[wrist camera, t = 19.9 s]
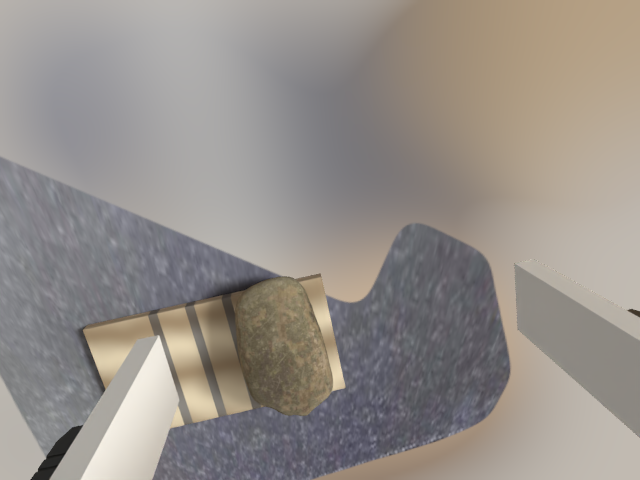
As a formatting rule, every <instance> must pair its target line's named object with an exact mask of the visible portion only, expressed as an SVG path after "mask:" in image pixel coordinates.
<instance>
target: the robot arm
mask: <svg viewBox="0 0 640 480" xmlns="http://www.w3.org/2000/svg"><path fill="white" fill-rule="evenodd" d="M514 266H515V285H516V305H517V324H518V325H517V326H518V330H519V331H520V332H521V333H522V334H523V335H525V336H526V337H527V338H528V339H529V340H530V341H531V342H532V343H534V344H535V345H536V346H537V347H538V348H539V349H540V350H541V351H542V352H544V353H545V354H546V355H547V356H548V357H549V358H550V359H552V360H553V361H554V362H555V363H556V364H557V365H558V366H559V367H561V368H562V369H563V370H564V371H565V372H566V373H568V375H570V376H571V377H572V378H573V379H574V380H575V381H576V382H578V383H579V384H580V385H581V386H582V387H583V388H584V389H586V390H587V391H588V392H589V393H590V394H591V395H592V396H594V398H596V399H597V400H598V401H599V402H600V403H601V404H602V405H603V406H605V407H606V408H607V409H608V410H609V411H610V412H611V413H612V414H614V415H615V416H616V417H617V418H618V419H619V420H620V421H622V422H623V423H624V424H625V425H626V426H627V427H628V428H630V429H631V430H632V431H633V432H634V433H635V434H636V435H637V436H638V437H640V311H637V310H633V309H630V310H625V309H623V308H622V307H619V306H618V305H616V304H614V303H612V302H611V301H609V300H607V299H605V298H603V297H602V296H600V295H598V294H596V293H594V292H593V291H591V290H589V289H587V288H585V287H584V286H582V285H580V284H578V283H576V282H575V281H573V280H571V279H569V278H567V277H565V276H563V275H562V274H560V273H558V272H557V271H554V270H553V269H551V268H549V267H548V266H546V265H544V264H542V263H540V262H539V261H537V260H535V259H533V260H528V261H523V262H518V263H514ZM178 403H179V397H178V394H177V390H176V387H175V384H174V381H173V378H172V375H171V371H170V368H169V365H168V362H167V359H166V356H165V352H164V349H163V346H162V343H161V340H160V337H159V335H157V336H152V337H147V338H142V339H138V340H137V341H136V343H135V344H134V346H133V347H132V349H131V351H130V352H129V354H128V355H127V357H126V359H125V360H124V362H123V363H122V365H121V367H120V368H119V370H118V371H117V373H116V374H115V376H114V378H113V379H112V381H111V382H110V384H109V386H108V387H107V389H106V390H105V392H104V394H103V395H102V397H101V398H100V400H99V402H98V403H97V405H96V406H95V408H94V409H93V411H92V413H91V414H90V416H89V417H88V419H87V421H86V422H85V424H84V425H82V426H77V427H72V428H71V429H70V430H69V431H68V432H67V433H66V434H65V435H64V436H62V437H61V438H60V439H59V440H58V441H57V442H56V443H55V445H54V446H53V448H52V449H51V451H50V452H49V454H48V455H47V457H46V460H44V461H43V462H42V464H41V465H40V467H39V468H38V472H36V473H35V474H34V476H33V477H32V479H31V480H152V478H153V476H154V473H155V470H156V467H157V464H158V461H159V458H160V455H161V452H162V450H163V447H164V444H165V441H166V438H167V435H168V432H169V429H170V426H171V424H172V421H173V418H174V415H175V412H176V409H177V406H178Z"/></svg>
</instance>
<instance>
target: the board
mask: <svg viewBox="0 0 640 480" xmlns="http://www.w3.org/2000/svg"><path fill="white" fill-rule="evenodd" d="M295 280H297V281H298V282H299V283H300V284H301V285H302V286H303V287H304V289H305V291H306V293H307V295H308V298H309V301H310V303H311V305H312V308H313V311H314V314H315V317H316V319H317V322H318V325H319V327H320V330H321V333H322V336H323V340H324V343H325V346H326V351H327V354H328V359H329V363H330V367H331V371H332V376H333V389H332V391H334V390H338V389H343V388H345V384H344V379H343V375H342V370H341V365H340V361H339V356H338V351H337V347H336V342H335V338H334V333H333V328H332V324H331V319H330V314H329V310H328V305H327V300H326V296H325V291H324V287H323V282H322V277H321V274H316V275H311V276H307V277H302V278H298V279H295ZM244 291H245V290H244ZM244 291H239V292H235V293H230V294H226V295H221V296H217V297H212V298H208V299H203V300H199V301H194V302H190V303H185V304H181V305H176V306H172V307H167V308H163V309H158V310H154V311H149V312H145V313H140V314H136V315H131V316H127V317H122V318H118V319H113V320H109V321H104V322H100V323H95V324H91V325H87V326H86V327H85V328H84V329H83V332H84V335H85V337H86V340H87V342H88V345H89V348H90V350H91V353H92V355H93V358H94V361H95V363H96V366H97V368H98V371H99V374H100V376H101V379H102V381H103V384H104V387H105V389H107V387H108V386H109V384H110V382H111V381H112V379H113V378H114V376H115V374H116V373H117V371H118V370H119V368H120V367H121V365H122V363H123V362H124V360H125V359H126V357H127V355H128V354H129V352H130V351H131V349H132V347H133V346H134V344H135V343H136V341H137V340H138V339H142V338H147V337H152V336H157V335H159V337H160V340H161V343H162V346H163V349H164V352H165V356H166V359H167V362H168V365H169V368H170V371H171V375H172V378H173V381H174V384H175V387H176V390H177V394H178V397H179V403H178V406H177V409H176V412H175V415H174V418H173V421H172V424H171V426H170V428H173V427H178V426H182V425H186V424H191V423H195V422H199V421H204V420H208V419H212V418H217V417H221V416H225V415H230V414H234V413H238V412H243V411H247V410H251V409H256V408H260V407H265V406H263V405H260V404H259V403H257V402H256V401H255V400H254V399H253V398H252V396H251V395H250V392H249V390H248V387H247V384H246V381H245V379H244V376H243V373H242V368H241V364H240V359H239V355H238V347H237V336H236V324H235V308H236V303H237V301H238V298H239V297H240V295H241V294H242V293H243V292H244Z"/></svg>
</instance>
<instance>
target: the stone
mask: <svg viewBox="0 0 640 480" xmlns="http://www.w3.org/2000/svg"><path fill="white" fill-rule="evenodd" d="M235 324H236V336H237V347H238V355H239V359H240V364H241V368H242V373H243V376H244V379H245V381H246V384H247V387H248V390H249V392H250V395H251V396H252V398H253V399H254V400H255V401H256V402H257V403H259V404H260V405H263V406H266V407H270V408H273V409H275V410H277V411H278V412H280V413H282V414H284V415H299V416H306V415H308V414H309V413H310V412H311V411H312V410H313V409H314V408H315V407H316V406H318V405H319V404H321V403H322V402H323V401H324V400H325V399H326V398H328V396H329V395H330V393H331V391H332V389H333V376H332V371H331V367H330V363H329V359H328V354H327V351H326V346H325V343H324V340H323V336H322V333H321V330H320V327H319V325H318V322H317V319H316V317H315V314H314V311H313V308H312V305H311V303H310V301H309V298H308V295H307V293H306V291H305V289H304V287H303V286H302V285H301V284H300V283H299V282H298V281H297V280H295V279H294V278H291V277H276V278H272V279H267V280H264V281H262V282H259V283H257V284H255V285H253V286H251V287H249V288H248V289H246V290H245V291H244V292H243V293H242V294H241V295H240V297H239V298H238V301H237V303H236V308H235Z"/></svg>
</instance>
